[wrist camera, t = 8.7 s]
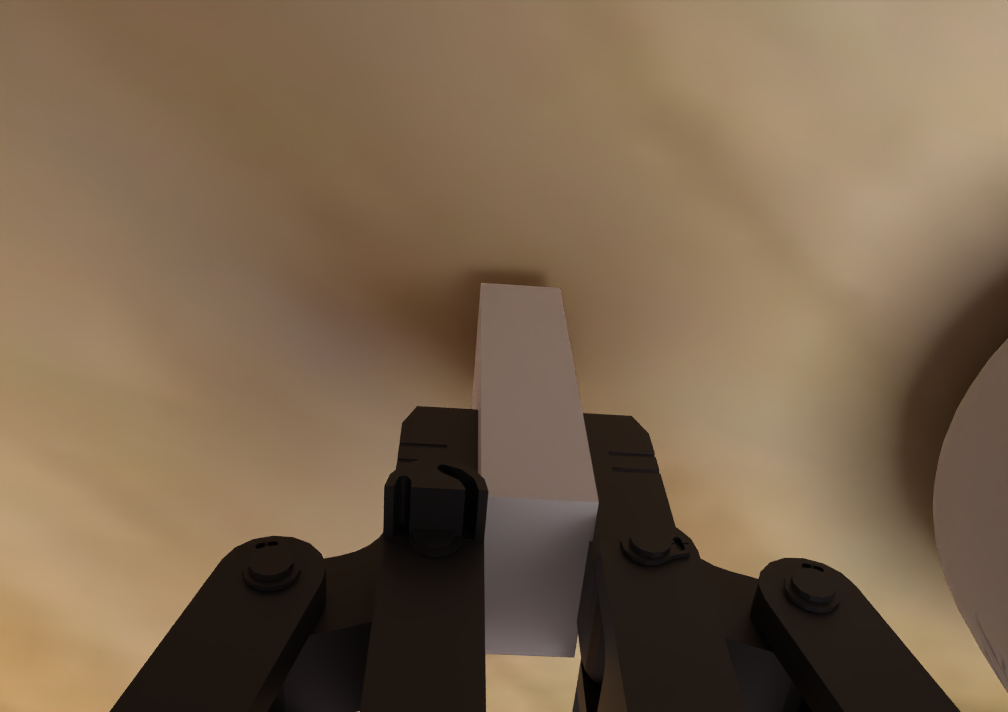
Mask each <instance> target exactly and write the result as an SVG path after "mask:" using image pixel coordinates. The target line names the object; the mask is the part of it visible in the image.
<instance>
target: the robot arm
mask: <svg viewBox="0 0 1008 712" xmlns="http://www.w3.org/2000/svg"><path fill="white" fill-rule="evenodd" d="M654 455H655V453H654V450H653V446H652V443H651V439H650V436H649V434H648V432H647V431H646V430H645V429H644V428H643V427H642V426H641V425H640V424H639V423H638V422H637V421H636V420H635V419H634V418H633V417H632V416H623V415H605V414H587V413H583V412H582V406H581V401H580V395H579V390H578V384H577V379H576V373H575V367H574V362H573V356H572V351H571V345H570V340H569V334H568V328H567V323H566V317H565V312H564V306H563V301H562V295H561V290H560V288H556V287H540V286H524V285H509V284H493V283H481V288H480V301H479V315H478V328H477V342H476V355H475V369H474V382H473V396H472V409H458V408H440V407H422V406H417V407H416V408H415V409H414V410H413V412H412V413H411V414H410V415H409V416H408V417H407V418H406V419H405V420H404V421H403V423H402V428H401V436H400V445H399V451H398V459H397V466H396V470H395V471H394V472H392V473H391V474H390V475H389V478H388V480H387V482H386V484H385V486H384V530H383V533H382V535H381V536H380V537H379V538H378V539H377V540H375V541H374V542H373V543H372V544H370V545H369V546H367V547H365V548H362V549H360V550H358V551H356V552H352V553H349V554H345V555H341V556H336V557H331V558H325V559H323V557H322V554H321V553H320V552H319V551H318V550H317V549H316V548H314V547H313V546H312V545H311V544H310V543H307V542H304V541H302V540H299V539H296V538H294V537H282V536H269V537H264V538H258V539H253V540H251V541H248V542H246V543H244V544H242V545H240V546H237V547H235V548H234V549H233V550H232V551H231V552H230V553H228V554H227V555H226V556H225V557H224V558H223V559H222V560H221V561H220V563H219V564H218V565H217V567H216V568H215V569H214V571H213V572H212V574H211V575H210V576H209V578H208V579H207V580H206V582H205V583H204V584H203V586H202V587H201V588H200V590H199V591H198V593H197V594H196V595H195V597H194V598H193V599H192V601H191V602H190V603H189V605H188V606H187V607H186V609H185V610H184V611H183V613H182V614H181V616H180V617H179V618H178V620H177V621H176V622H175V624H174V625H173V626H172V628H171V629H170V630H169V632H168V633H167V635H166V636H165V637H164V639H163V640H162V641H161V643H160V644H159V645H158V647H157V648H156V649H155V651H154V652H153V654H152V655H151V656H150V658H149V659H148V660H147V662H146V663H145V664H144V666H143V667H142V668H141V670H140V671H139V672H138V674H137V675H136V677H135V678H134V679H133V681H132V682H131V683H130V685H129V686H128V687H127V689H126V690H125V691H124V693H123V694H122V696H121V697H120V698H119V700H118V701H117V702H116V704H115V705H114V706H113V708H112V709H111V710H110V712H357V711H360V712H486V677H485V654H502V655H527V656H551V657H574V655H575V649H576V643H577V637H578V636H579V644H580V652H581V663H580V669H579V675H578V681H577V687H576V693H575V699H574V705H573V712H960V710H959V709H958V708H957V707H956V706H955V704H954V703H953V702H952V701H951V700H950V698H949V697H948V696H947V695H946V694H945V692H944V691H943V690H942V689H941V688H940V686H939V685H938V684H937V683H936V682H935V680H934V679H933V678H932V677H931V676H930V674H929V673H928V672H927V671H926V670H925V668H924V667H923V666H922V665H921V664H920V662H919V661H918V660H917V659H916V658H915V656H914V655H913V654H912V653H911V652H910V650H909V649H908V648H907V647H906V646H905V644H904V643H903V642H902V641H901V640H900V638H899V637H898V636H897V635H896V634H895V632H894V631H893V630H892V629H891V628H890V626H889V625H888V624H887V623H886V621H885V620H884V619H883V618H882V617H881V615H880V614H879V613H878V612H877V611H876V609H875V608H874V607H873V606H872V605H871V603H870V602H869V601H868V600H867V599H866V597H865V596H864V595H863V594H862V593H861V591H860V590H859V589H858V588H857V587H856V586H855V585H854V584H853V583H852V582H851V581H850V580H849V579H848V578H846V577H845V576H844V575H843V574H842V573H840V572H838V571H836V570H835V569H833V568H831V567H829V566H827V565H825V564H823V563H819V562H815V561H812V560H808V559H804V558H783V559H780V560H777V561H773V562H770V563H769V564H768V565H767V566H766V567H765V568H764V569H763V570H762V571H761V572H760V576H759V579H756V578H752V577H749V576H745V575H742V574H738V573H734V572H731V571H727V570H725V569H722V568H719V567H716V566H713V565H712V564H710V563H708V562H706V561H704V560H702V559H700V556H699V552H698V550H697V548H696V547H695V545H694V543H693V542H692V540H691V539H690V538H689V537H688V536H687V535H685V534H684V533H683V532H682V531H680V530H679V529H678V528H676V527H675V523H674V520H673V516H672V513H671V509H670V506H669V502H668V499H667V495H666V492H665V488H664V485H663V481H662V478H661V474H659V467H658V464H657V460H656V458H655V457H654Z"/></svg>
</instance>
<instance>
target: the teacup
mask: <svg viewBox="0 0 1008 712" xmlns="http://www.w3.org/2000/svg"><path fill="white" fill-rule="evenodd" d="M933 519H934V530H935V538H936V545H937V549H938V554H939V558H940V562H941V565H942V568H943V572H944V575H945V578H946V581H947V584H948V586H949V588H950V591H951V593H952V595H953V598H954V600H955V602H956V605H957V607H958V609H959V611H960V613H961V615H962V617H963V619H964V620H965V622H966V624H967V626H968V628H969V629H970V631H971V633H972V635H973V637H974V638H975V640H976V642H977V644H978V645H979V647H980V649H981V651H982V653H983V654H984V656H985V658H986V659H987V661H988V662H989V664H990V666H991V667H992V669H993V671H994V672H995V674H996V675H997V677H998V679H999V680H1000V682H1001V683H1002V685H1003V686H1004V688H1005V689H1006V691H1007V693H1008V339H1007V340H1006V341H1005V342H1004V343H1003V344H1002V345H1001V346H1000V347H999V349H998V350H997V351H996V352H995V353H994V354H993V355H992V356H991V357H990V359H989V360H988V362H987V363H986V364H985V366H984V367H983V369H982V370H981V371H980V373H979V374H978V376H977V377H976V379H975V380H974V381H973V383H972V384H971V386H970V387H969V389H968V391H967V392H966V394H965V396H964V398H963V399H962V401H961V403H960V405H959V406H958V408H957V410H956V412H955V414H954V417H953V419H952V422H951V424H950V427H949V429H948V432H947V434H946V436H945V439H944V442H943V445H942V449H941V453H940V456H939V460H938V466H937V471H936V477H935V483H934V496H933Z"/></svg>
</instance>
